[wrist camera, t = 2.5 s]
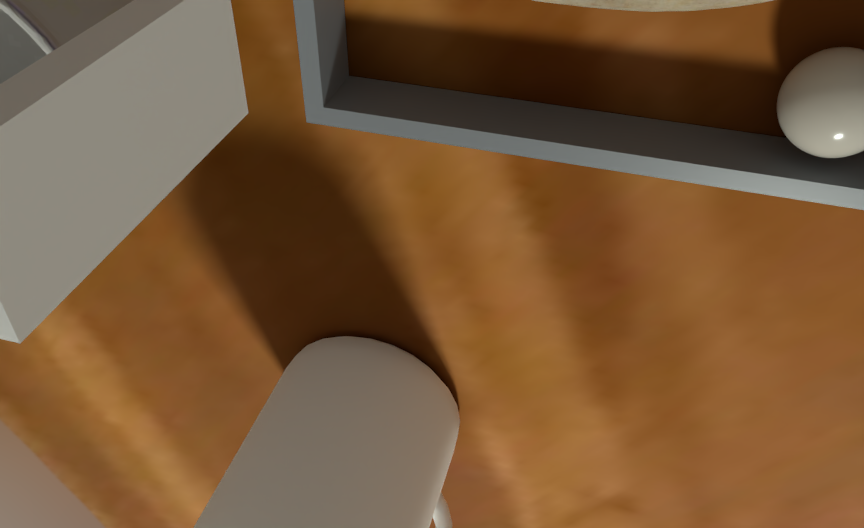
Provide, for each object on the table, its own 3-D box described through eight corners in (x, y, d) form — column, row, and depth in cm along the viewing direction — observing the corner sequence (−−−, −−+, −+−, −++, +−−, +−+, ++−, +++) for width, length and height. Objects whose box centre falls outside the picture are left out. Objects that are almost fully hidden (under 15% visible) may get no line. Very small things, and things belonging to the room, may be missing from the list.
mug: (334, 296, 37) (213, 508, 28) (542, 426, 38) (489, 663, 30) (266, 391, 43) (151, 587, 34) (448, 498, 44) (381, 711, 36)
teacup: (-30, -198, 26) (-247, -142, 20) (250, -17, 28) (121, 84, 22) (-48, 102, 36) (-201, 200, 30) (162, 227, 37) (55, 344, 31)
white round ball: (791, 22, 23) (799, 69, 21) (907, 36, 23) (928, 85, 20) (761, 117, 25) (765, 169, 23) (867, 132, 25) (882, 186, 22)
